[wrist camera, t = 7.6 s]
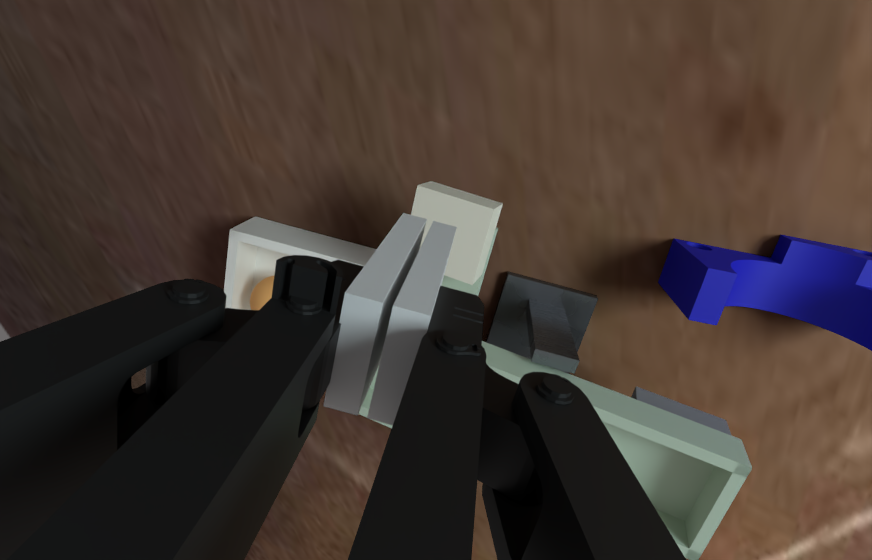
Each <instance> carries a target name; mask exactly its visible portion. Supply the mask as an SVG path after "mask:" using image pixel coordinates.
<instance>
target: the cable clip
mask: <svg viewBox="0 0 872 560" xmlns="http://www.w3.org/2000/svg"><path fill="white" fill-rule="evenodd" d="M658 283H659V284H660V286H661V287H662V288H663V289H664V290H665V292H666V293H667V294H668V295H669V297H670V298H671V299H672V300H673V301H674V303H675V304H676V305H677V306H678V307H679V309H680V310H681V311H682V312H683V314H684V315H685V316H686V317H687V318H688V320H693V321H698V322H702V323H707V324H712V325H717V323H718V321H719V318H720V316H721V313H722V311H723V308H724V306H740V307H749V308H755V309H760V310H765V311H770V312H774V313H778V314H782V315H785V316H789V317H792V318H795V319H799V320H802V321H805V322H808V323H811V324H813V325H816V326H819V327H821V328H824V329H827V330H829V331H831V332H834V333H836V334H839V335H841V336H843V337H845V338H848V339H850V340H852V341H854V342H856V343H858V344H860V345H862V346H864V347H866V348H868V349H869V350H871V351H872V252H867V251H862V250H857V249H851V248H846V247H841V246H836V245H831V244H826V243H821V242H816V241H811V240H806V239H800V238H795V237H790V236H785V235H781V236H780V238H779V240H778V243H777V245H776V247H775V250H774V252H773V254H772V257H771V258H770V257H765V256H760V255H755V254H749V253H744V252H739V251H734V250H729V249H724V248H719V247H714V246H709V245H704V244H699V243H694V242H689V241H684V240H679V239H673V242H672V245H671V247H670V250H669V253H668V256H667V259H666V261H665V264H664V267H663V270H662V273H661V276H660V278H659V281H658Z"/></svg>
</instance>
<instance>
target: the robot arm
mask: <svg viewBox="0 0 872 560" xmlns="http://www.w3.org/2000/svg"><path fill="white" fill-rule="evenodd" d="M426 220H427V219H425V218H421V217H417V216H413V215H410V214H406V213H403V214H402V215H401V217H400V218H399V219H398V221H397V222H396V224H395V225H394V226H393V228H392V229H391V230H390V232H389V233H388V234H387V236H386V237H385V239H384V240H383V241H382V243H381V244H380V245H379V247H378V248H377V249H376V251H375V252H374V254H373V255H372V256H371V258H370V259H369V260H368V262H367V263H366V264H365V266H360V265H357V264H353V263H349V262H346V261H342V260H335V261H332V262H330V261H328V260H325V259H322V258H318V257H313V256H308V255H291V256H284V257H282V258H280V259H278V260H276V267H275V275H274V282H273V290H272V298H271V299H270V300H269V301H268V302H267V303H266V304H265V305H264V306H263V307H262V308H261V309H260V310H243V309H233V308H225V307H226V294H225V293H224V291H223V290H222V289H221V288H219V287H217V286H215V285H214V284H210V283H207V282H204V281H202V280H194V279H184V280H173V281H168V282H164V283H160V284H157V285H155V286H152V287H149V288H146V289H144V290H141V291H138V292H136V293H133V294H130V295H127V296H125V297H122V298H119V299H116V300H114V301H111V302H108V303H105V304H103V305H100V306H97V307H94V308H92V309H89V310H86V311H83V312H81V313H78V314H75V315H72V316H70V317H67V318H64V319H62V320H59V321H56V322H53V323H51V324H48V325H45V326H42V327H40V328H37V329H34V330H31V331H29V332H26V333H23V334H20V335H18V336H15V337H12V338H9V339H7V340H4V341H1V342H0V560H244V559H245V557H246V555H247V553H248V551H249V549H250V547H251V545H252V543H253V541H254V540H255V538H256V536H257V534H258V532H259V530H260V528H261V526H262V524H263V522H264V520H265V518H266V516H267V514H268V512H269V510H270V509H271V507H272V505H273V503H274V501H275V499H276V497H277V495H278V493H279V491H280V489H281V487H282V485H283V483H284V481H285V479H286V478H287V476H288V474H289V472H290V470H291V468H292V466H293V464H294V462H295V460H296V458H297V456H298V454H299V452H300V450H301V448H302V447H303V445H304V443H305V441H306V439H307V437H308V435H309V433H310V431H311V429H312V427H313V425H314V423H315V421H316V418H317V412H318V407H319V402H320V399H321V397H322V396H323V394H324V392H325V390H326V388H327V390H326V395H325V400H324V406H325V407H328V408H332V409H336V410H339V411H343V412H346V413H350V414H354V415H357V416H358V413H359V411H360V409H361V406H362V404H363V402H364V399H365V397H366V395H367V392H368V390H369V388H370V385H371V383H372V380H373V378H374V376H375V373H376V371H377V369H378V366H379V369H378V373H377V377H376V382H375V386H374V390H373V395H372V399H371V403H370V408H369V412H368V416H367V418H368V419H372V420H376V421H379V422H383V423H387V424H390V425H393V426H392V429H391V432H390V435H389V438H388V441H387V444H386V447H385V450H384V453H383V456H382V459H381V462H380V465H379V468H378V471H377V474H376V477H375V480H374V483H373V486H372V489H371V492H370V495H369V498H368V501H367V504H366V507H365V510H364V513H363V516H362V519H361V522H360V525H359V528H358V531H357V534H356V537H355V540H354V543H353V546H352V549H351V552H350V555H349V558H348V560H471V555H472V542H473V529H474V515H475V502H476V489H477V480H479V481H480V482H482V483H483V486H482V496H483V500H484V505H485V509H486V513H487V517H488V521H489V525H490V530H491V534H492V538H493V542H494V546H495V551H496V555H497V559H498V560H686V558H685V557H684V555H683V553H682V552H681V550H680V548H679V547H678V545H677V544H676V542H675V540H674V539H673V537H672V535H671V534H670V532H669V530H668V529H667V527H666V525H665V524H664V522H663V521H662V519H661V517H660V516H659V514H658V512H657V511H656V509H655V507H654V506H653V504H652V502H651V501H650V499H649V498H648V496H647V494H646V493H645V491H644V489H643V488H642V486H641V484H640V483H639V481H638V479H637V478H636V476H635V475H634V473H633V471H632V470H631V468H630V466H629V465H628V463H627V461H626V460H625V458H624V456H623V455H622V453H621V452H620V450H619V448H618V447H617V445H616V443H615V442H614V440H613V438H612V437H611V435H610V433H609V432H608V430H607V428H606V427H605V425H604V424H603V422H602V420H601V419H600V417H599V415H598V414H597V412H596V410H595V409H594V407H593V405H592V404H591V402H590V401H589V399H588V397H587V396H586V395H585V394H584V393H583V391H582V390H581V389H580V388H579V387H577V386H576V385H574V384H573V383H571V382H570V381H569V380H568V379H566V378H564V377H563V378H562V377H561V376H559V375H556V374H550V373H546V372H530V373H527V374H524V376H523V377H522V378H521V379H520V382H519V384H518V383H515V382H513V381H511V380H509V379H507V378H505V377H503V376H501V375H500V374H498V373H496V372H495V371H494V370H492V369H491V368H490V367H489V366H488V365H487V364H486V356H487V355H486V352H485V349H484V348H483V347H482V332H483V317H484V316H483V315H484V304H483V303H482V301H481V300H480V299H479V297H478V296H477V295H474V294H470V293H467V292H463V291H459V290H455V289H452V288H448V287H444V286H441V285H442V281H443V277H444V274H445V270H446V266H447V262H448V258H449V255H450V251H451V247H452V243H453V240H454V236H455V232H456V228H457V227H455V226H451V225H447V224H443V223H440V222H436V221H433V223H432V225H431V227H430V229H429V231H428V233H427V235H426V237H425V239H424V241H423V244H422V246H421V248H420V245H421V241H422V237H423V233H424V229H425V225H426ZM419 249H420V250H419ZM144 368H146V383H145V384H143V385H142V386H140V387H138V388H135V389H132V387H131V376H133V375H134V374H135V373H136V372H138V371H140V370H142V369H144Z"/></svg>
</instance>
